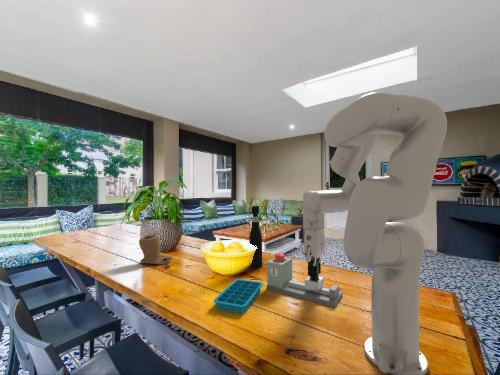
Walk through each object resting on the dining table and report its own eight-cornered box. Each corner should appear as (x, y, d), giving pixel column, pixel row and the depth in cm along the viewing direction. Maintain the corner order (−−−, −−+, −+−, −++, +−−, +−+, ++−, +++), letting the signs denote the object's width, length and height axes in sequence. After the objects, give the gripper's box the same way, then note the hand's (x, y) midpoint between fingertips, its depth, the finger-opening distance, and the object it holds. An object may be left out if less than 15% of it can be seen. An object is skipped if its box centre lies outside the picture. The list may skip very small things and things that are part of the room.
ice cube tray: (263, 290, 95) (263, 282, 94) (244, 316, 76) (244, 307, 76) (236, 286, 99) (236, 278, 99) (212, 310, 80) (211, 301, 80)
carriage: (318, 294, 85) (318, 262, 85) (304, 290, 88) (304, 260, 88) (323, 288, 90) (323, 258, 90) (310, 285, 93) (310, 256, 93)
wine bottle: (261, 268, 118) (260, 206, 117) (248, 267, 119) (247, 206, 118) (263, 264, 124) (262, 205, 123) (251, 263, 125) (250, 205, 125)
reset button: (282, 272, 94) (282, 256, 94) (273, 270, 96) (272, 255, 96) (286, 269, 97) (286, 254, 97) (277, 267, 100) (277, 252, 100)
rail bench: (334, 307, 80) (334, 275, 80) (266, 289, 94) (266, 262, 94) (342, 295, 88) (342, 266, 88) (278, 280, 103) (278, 255, 103)
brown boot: (134, 265, 125) (133, 236, 125) (151, 258, 136) (151, 231, 136) (157, 268, 120) (156, 238, 119) (173, 261, 131) (172, 233, 130)
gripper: (316, 229, 80) (316, 284, 80) (330, 222, 93) (331, 269, 93) (294, 227, 84) (295, 279, 84) (312, 220, 98) (312, 266, 98)
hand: (314, 274), depth 89 cm, fingers closed on carriage, 3 cm apart
